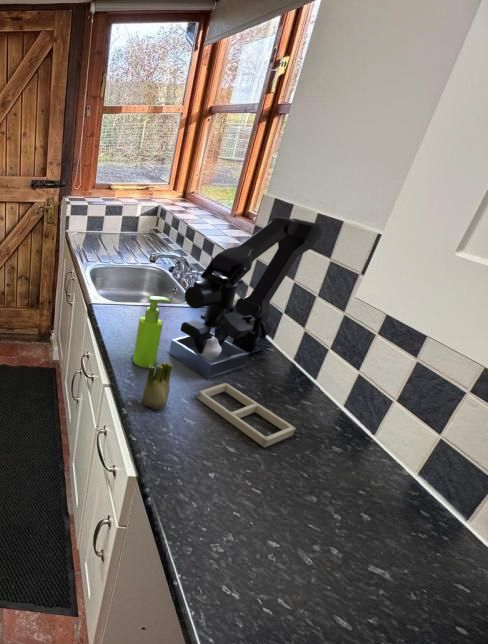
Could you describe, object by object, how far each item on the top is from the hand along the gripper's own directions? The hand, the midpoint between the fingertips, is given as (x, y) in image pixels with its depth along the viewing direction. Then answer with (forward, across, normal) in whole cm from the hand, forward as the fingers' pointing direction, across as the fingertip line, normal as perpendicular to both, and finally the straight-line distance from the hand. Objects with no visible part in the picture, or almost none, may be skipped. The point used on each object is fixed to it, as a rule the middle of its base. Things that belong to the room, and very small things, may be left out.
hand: (208, 350), depth 113 cm
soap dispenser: (+3, -16, +6) cm, 17 cm away
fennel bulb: (+3, -27, -9) cm, 29 cm away
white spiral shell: (+3, 0, 0) cm, 3 cm away
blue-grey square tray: (+3, 0, 0) cm, 3 cm away
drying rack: (+3, -11, -20) cm, 23 cm away
